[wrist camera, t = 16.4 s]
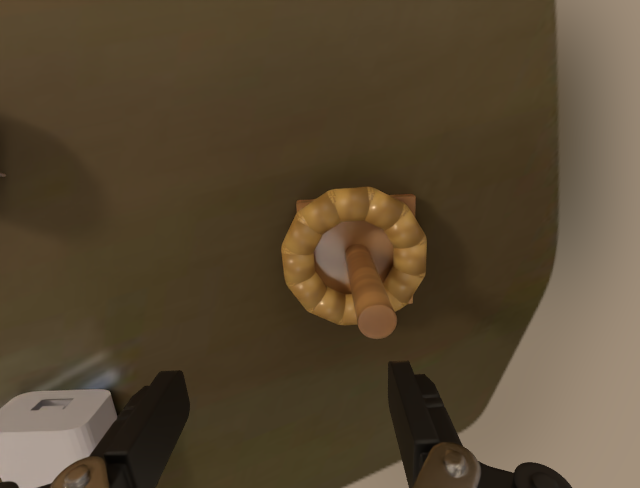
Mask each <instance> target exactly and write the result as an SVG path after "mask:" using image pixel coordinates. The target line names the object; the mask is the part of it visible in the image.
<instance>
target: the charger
mask: <svg viewBox="0 0 640 488" xmlns="http://www.w3.org/2000/svg"><path fill="white" fill-rule="evenodd" d="M115 420H117V414H116V410H115V407H114V403H113V400H112V397H111V393H110V391H108V390H104V389H87V390H58V391H35V392H28V393H24V394H20V395H18V396H16V397H14V398H13V399H11V400H10V401H9V402H8V403H7V404H5V405H4V406H3V407H2V408H1V409H0V477H1V479H2V481H3V482H6V481H12V482H15V483H17V485H18V487H19V488H37V487H41V486H44V485H47V484H50V483H52V482H53V481H54V479H55V478H56V477H57V476H58V475H59V473H61V472H62V471H63V470H64V469H65V468H66V467H68V466H69V465H71V464H72V463H74V462H76V461H78V460H80V459H83V458H86V457H89V456H90V454H91V453H92V451H93V450H94V449H95V447H96V446H97V445H98V443H99V442H100V440H101V439H102V438H103V436H104V435H105V433H106V432H107V431H108V429H109V428H110V427H111V425H112V424H113V422H114V421H115Z"/></svg>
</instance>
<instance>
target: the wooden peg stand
mask: <svg viewBox="0 0 640 488" xmlns="http://www.w3.org/2000/svg"><path fill="white" fill-rule="evenodd" d="M389 196H391V197H393V198H395V199H397V200H399V201H401V202H403V203H405V204H406V205H407V206H408V207H409V209H410V210H411V212H412V214H413V215H414V217H415V205H416V196H414V195H413V194H399V195H389ZM314 200H315V199H310V200H297V203H296V206H297V213H298V211H299V210H301V209H302V208H304V207H305V206H307V205H308V204H309V203H311V202H312V201H314ZM314 262H315V271H316V273H317V274H318V275H319V277H320V278H321V279H322V281H323V282H324V284H325V285H326V286H327V287H329V288H332V289H334V290H336V291H338V292H341V293H343V294H352V297H353V303H354V308H355V313H356V318H357V323H358V327H359V329H360V331H361V332H362V333H363V334H364V335H365V336H367V337H369V338H373V339H380V338H384V337H386V336H388V335H390V334H391V333H392V332H393V331H394V329H395V327H396V324H397V317H396V314H395V311H394V309H393V307H392V304H391V302H390V300H389V297H388V295H387V292H386V290H385V288H384V285H383V282H384V280H385V279H386V277H387V275H388V274H389V272H390V270H391V268H392V267H393V245H392V243H391V242H390V240H389V239H388V237H387V236H386V234H385V232H384V231H383V230H382V229H380V228H378V227H376V226H374V225H372V224H370V223H368V222H366V221H351V222H341V223H339V224H338V225H336V226H335V227H333V228H332V229H330V230H329V231H327V232H326V233H324V234H323V235H322V237H321V239H320V241H319V243H318V245H317V247H316V249H315V251H314ZM412 303H413V296H412V297H411V299H410V301H409V302H408V303H407V304H412Z"/></svg>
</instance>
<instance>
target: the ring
mask: <svg viewBox="0 0 640 488" xmlns="http://www.w3.org/2000/svg"><path fill="white" fill-rule="evenodd" d="M351 221H366V222H368V223H370V224H372V225H374V226H376V227H378V228H380V229H382V230H383V231H384V232H385V234H386V236H387V237H388V239H389V240H390V242H391V243H392V245H393V267H392V268H391V270H390V272H389V274H388V275H387V277H386V279H385V280H384V282H383V285H384V288H385V290H386V292H387V295H388V297H389V300H390V302H391V304H392V307H393V309H394V311H395V312H396V311H397V310H399V309H401V308H403V307H404V306H406V305H407V303H408V302H409V301H410V299H411V297H412V296H413V294H414V293H415V291H416V289H417V288H418V286H419V285H420V283H421V281H422V280H423V278H424V276H425V274H426V251H427V239H426V235H425V233H424V232H423V230H422V228H421V227H420V225H419V223H418V222H417V220H416V219H415V217H414V215H413V214H412V212H411V210H410V209H409V207H408V206H407V205H406V204H405V203H403V202H401V201H399V200H397V199H395V198H393V197H391V196H389V195H387V194H385V193H383V192H381V191H379V190H377V189H375V188H372V187H355V188H342V189H332V190H329V191H327V192H326V193H324V194H323V195H321V196H320V197H318V198H317V199H315V200H314V201H312V202H311V203H309V204H308V205H307V206H305V207H304V208H302V209H301V210H299V211H298V213H297V214H296V216H295V218H294V220H293V222H292V224H291V226H290V228H289V230H288V232H287V235H286V237H285V239H284V241H283V243H282V247H281V252H282V261H283V269H284V278H285V282H286V284H287V286H288V287H289V289H290V290H291V291H292V293H293V294H294V295H295V296H296V298H297V299H298V300H299V302H300V303H301V304H302V305H303V307H304V308H305V309H306V310H307V311H308V312H310V313H312V314H314V315H317V316H319V317H321V318H324V319H326V320H328V321H331V322H333V323H335V324H338V325H355V324H358V323H357V318H356V313H355V308H354V303H353V297H352V294H343V293H341V292H338V291H336V290H334V289H332V288H329V287H327V286H326V285H325V284H324V282H323V281H322V279H321V278H320V277H319V275H318V274H317V273H316V271H315V262H314V251H315V249H316V247H317V245H318V243H319V241H320V239H321V237H322V235H323V234H324V233H326V232H327V231H329V230H330V229H332V228H333V227H335V226H336V225H338V224H339V223H341V222H351Z"/></svg>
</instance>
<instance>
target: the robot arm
mask: <svg viewBox="0 0 640 488" xmlns="http://www.w3.org/2000/svg"><path fill="white" fill-rule="evenodd" d="M388 401H389V408H390V413H391V417H392V421H393V425H394V429H395V433H396V437H397V441H398V445H399V449H400V453H401V457H402V461H403V465H404V469H405V473H406V477H407V481H408V485H409V488H572V487H571V485H570V484H569V483H568V482H567V481H566V480H565V479H564V478H563V477H562V476H561V475H560V474H558V473H557V472H556V471H554V470H553V469H551V468H549V467H547V466H545V465H541V464H538V463H532V462H527V463H522V464H520V465H519V466H518V467H517V468H516V469H515V472H514V473H512V472H508V471H505V470H501V469H497V468H493V467H490V466H487V465H485V464H483V463H481V462H479V461H477V459H476V457H475V456H474V455H473V454H472V453H471V452H470V451H469V450H468V449H466V448H465V447H463V445H462V443H461V441H460V439H459V437H458V435H457V432H456V430H455V428H454V426H453V424H452V422H451V419H450V417H449V415H448V413H447V411H446V408H445V407H444V404H443V402H442V400H441V398H440V395H439V393H438V391H437V389H436V386H435V384H434V383H433V382H432V381H431V380H430V379H429V378H428V377H427V376H426V375H425V374H418V375H414V373H413V370H412V368H411V365H410V363H409V361H391V362H389V363H388ZM189 410H190V402H189V397H188V393H187V388H186V384H185V379H184V375H183V372H182V371H180V370H179V371H161V372H159V373H158V375H157V376H156V377H155V379H154V380H153V382H152V383H151V385H150V386H144V387H143V388H142V389H141V390H140V391H138V392H137V393H136V394H135V395H133V396H132V398H131V399H130V400H129V402H128V403H127V404H126V406H125V407H124V410H122V411H121V413H120V414H119V415H118V417H117V420H115V421H114V422H113V424H112V425H111V427H110V428H109V429H108V431H107V432H106V433H105V435H104V436H103V438H102V439H101V440H100V442H99V443H98V445H97V446H96V447H95V449H94V450H93V451H92V453H91V454H90V456H89V457H86V458H83V459H80V460H78V461H76V462H74V463H72V464H71V465H69V466H68V467H66V468H65V469H64V470H63V471H62V472H61V473H59V475H58V476H57V477H56V478H55V479H54V481H53V482H52V483H50V484H47V485H44V486H41V487H37V488H155V487H156V485H157V483H158V481H159V479H160V476H161V474H162V472H163V470H164V468H165V466H166V464H167V462H168V459H169V457H170V455H171V453H172V451H173V449H174V447H175V445H176V443H177V440H178V438H179V436H180V434H181V432H182V430H183V428H184V426H185V423H186V421H187V419H188V416H189ZM0 488H19V487H18V485H17V483H15V482H12V481H6V482H1V483H0Z"/></svg>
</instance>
